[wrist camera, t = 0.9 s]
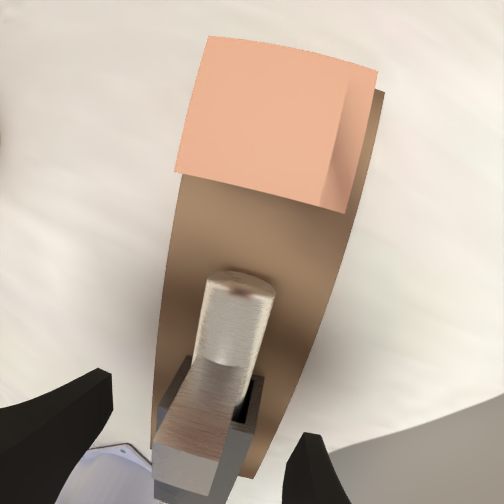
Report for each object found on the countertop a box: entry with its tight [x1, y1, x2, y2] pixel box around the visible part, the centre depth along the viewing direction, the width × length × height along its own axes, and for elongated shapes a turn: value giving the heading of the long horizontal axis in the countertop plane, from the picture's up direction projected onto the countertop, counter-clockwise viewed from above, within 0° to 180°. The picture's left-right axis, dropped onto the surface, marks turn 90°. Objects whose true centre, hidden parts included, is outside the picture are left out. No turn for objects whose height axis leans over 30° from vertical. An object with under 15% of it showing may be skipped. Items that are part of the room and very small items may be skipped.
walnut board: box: [150, 89, 385, 479], centre depth 16 cm, size 26×8×1 cm, turn 167°
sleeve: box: [154, 355, 265, 504], centre depth 16 cm, size 10×4×4 cm, turn 167°
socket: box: [174, 36, 378, 214], centre depth 11 cm, size 4×5×5 cm
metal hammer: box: [152, 271, 276, 496], centre depth 12 cm, size 14×3×8 cm, turn 167°
